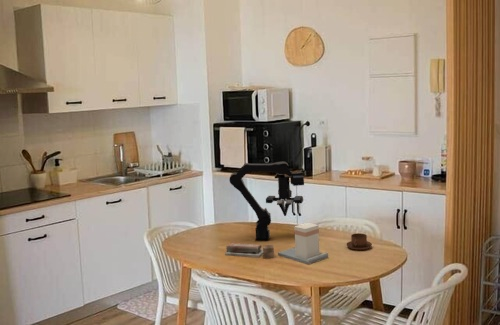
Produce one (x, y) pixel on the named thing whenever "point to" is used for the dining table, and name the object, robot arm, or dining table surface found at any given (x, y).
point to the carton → (307, 240)
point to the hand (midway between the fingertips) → (285, 215)
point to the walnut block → (268, 251)
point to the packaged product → (244, 250)
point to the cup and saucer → (359, 242)
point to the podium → (292, 255)
